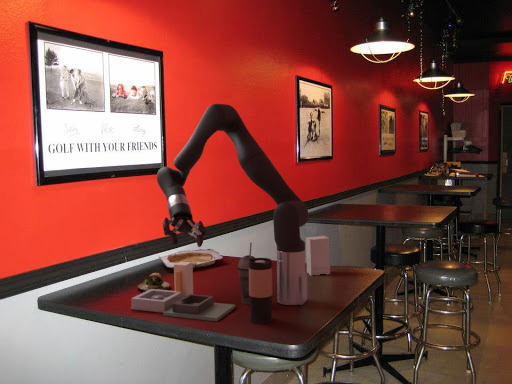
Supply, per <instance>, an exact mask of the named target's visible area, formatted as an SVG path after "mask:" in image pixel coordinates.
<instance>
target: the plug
mask: <svg viewBox="0 0 512 384" xmlns="http://www.w3.org/2000/svg"><path fill="white" fill-rule="evenodd" d="M193 270H194V268H193V265H192V262H182V261H181V262H179V263H176V264H174V269H173V280H174V291H180V292H183V298H184V297H185V296H187V295H189V294H193V295H194V276H193V275H194V274H193Z"/></svg>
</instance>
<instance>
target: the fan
mask: <svg viewBox="0 0 512 384" xmlns="http://www.w3.org/2000/svg"><path fill="white" fill-rule="evenodd" d="M182 298H183V292H180V291H175V290H170V289H169V290H165V289H163V290H158V289H150V290H148V291H143V292H142V293H139V294H138V295H136V296H133V297H132V298H130V300H131V303H130V304H131V305H130V307H131V310H135V311H142V312H143V311H144V312H153V313H154V312H155V313H162V314H163V312H165V311H166V310H168V309H170V308H172V304H173V303H175V302H176V301H178V300H180V299H182Z"/></svg>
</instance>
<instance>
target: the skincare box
mask: <svg viewBox="0 0 512 384" xmlns="http://www.w3.org/2000/svg"><path fill="white" fill-rule="evenodd" d="M330 252H331V251H330V238H329V237H328V236H326V235H317V236H307V237H305V258H306V272H307V274H308V273H309V274H308V275H309V276H311V277H313V276H312V275H315V276H321V275H320V274H326V275H330V274H331V261H330V259H331V258H330V256H331V253H330Z"/></svg>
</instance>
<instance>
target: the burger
mask: <svg viewBox="0 0 512 384" xmlns="http://www.w3.org/2000/svg"><path fill="white" fill-rule="evenodd" d="M158 270H159V268H157V270H156V272H154V273H151V274H150V275H149V279H147V278H145V279H144V280H143V282H142V283H139V284H138V285H137V286H136V287H137V290H139V289H140V290H141V291H144V292H146V291H148V290H150V289H158V290H169V291H170V290H171V289H172V288H171V284H170V282H169V281H168V282H167V281H164V280H163V279H162V278H163V277H162V275H161V274H160V273H159V272H158Z"/></svg>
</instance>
